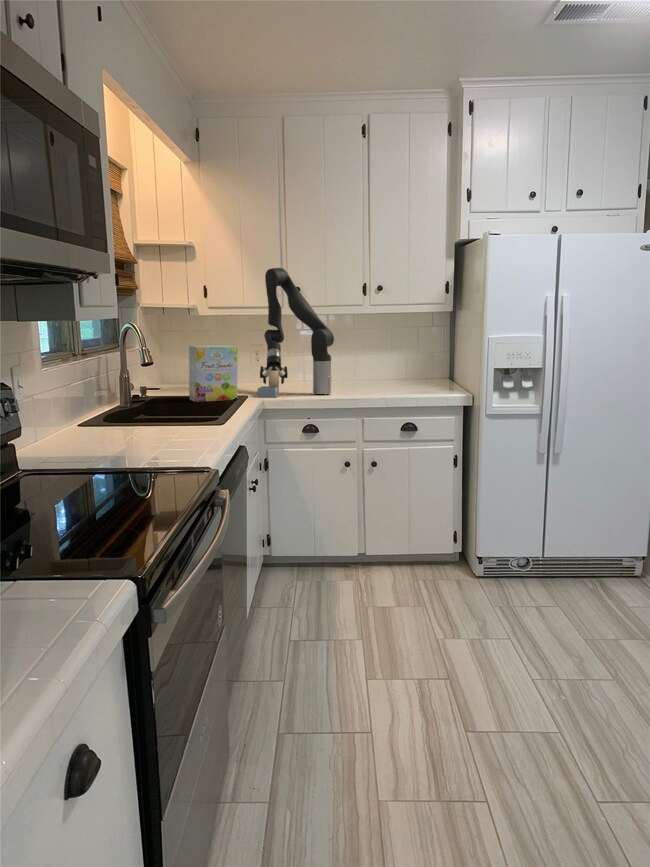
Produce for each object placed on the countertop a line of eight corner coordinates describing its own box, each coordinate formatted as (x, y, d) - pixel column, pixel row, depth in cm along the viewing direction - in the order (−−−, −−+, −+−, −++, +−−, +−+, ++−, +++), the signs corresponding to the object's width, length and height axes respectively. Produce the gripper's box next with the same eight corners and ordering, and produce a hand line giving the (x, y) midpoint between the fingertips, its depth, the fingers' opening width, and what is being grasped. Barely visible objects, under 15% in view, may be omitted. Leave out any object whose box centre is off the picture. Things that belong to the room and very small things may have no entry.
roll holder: (279, 395, 314) (279, 386, 313) (276, 397, 305) (276, 388, 304) (260, 395, 315) (260, 386, 314) (256, 397, 306) (256, 388, 305)
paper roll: (279, 393, 321) (279, 370, 319) (277, 394, 316) (277, 371, 314) (269, 393, 322) (269, 370, 320) (267, 394, 317) (267, 371, 315)
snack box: (195, 402, 285) (194, 346, 280) (188, 400, 292) (187, 345, 287) (238, 399, 297) (237, 345, 292) (231, 397, 304) (230, 344, 299)
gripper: (260, 354, 322) (259, 378, 313) (287, 354, 323) (287, 378, 314) (260, 363, 329) (259, 387, 319) (287, 364, 329) (287, 387, 320)
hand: (273, 383), depth 317 cm, fingers open, 8 cm apart
